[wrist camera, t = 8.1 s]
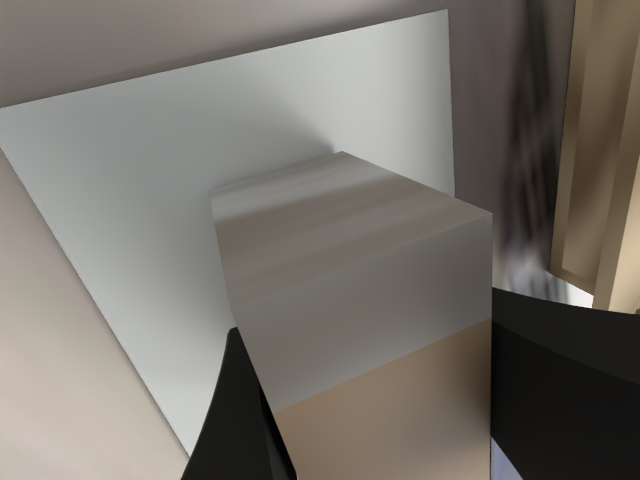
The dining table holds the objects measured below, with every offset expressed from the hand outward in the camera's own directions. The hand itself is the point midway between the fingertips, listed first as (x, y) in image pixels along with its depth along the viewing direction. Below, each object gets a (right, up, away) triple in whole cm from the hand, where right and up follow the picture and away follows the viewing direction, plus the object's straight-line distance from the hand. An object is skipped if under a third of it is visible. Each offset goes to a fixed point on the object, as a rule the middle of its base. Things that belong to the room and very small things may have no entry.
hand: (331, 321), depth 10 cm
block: (-1, +1, +2) cm, 2 cm away
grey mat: (-1, +1, +3) cm, 3 cm away
